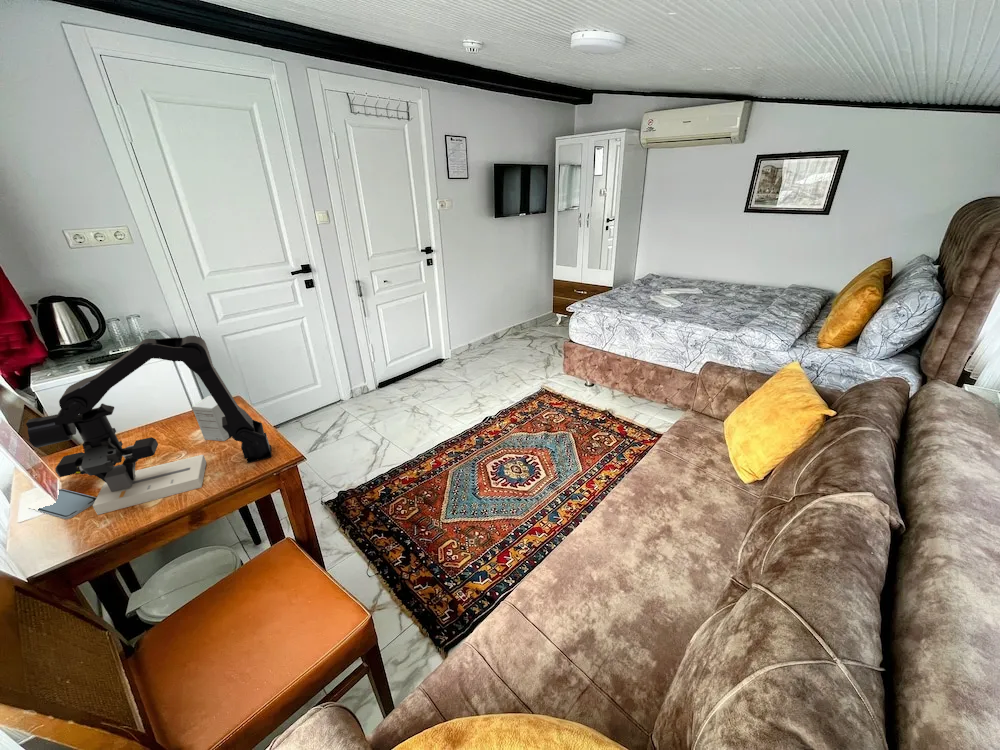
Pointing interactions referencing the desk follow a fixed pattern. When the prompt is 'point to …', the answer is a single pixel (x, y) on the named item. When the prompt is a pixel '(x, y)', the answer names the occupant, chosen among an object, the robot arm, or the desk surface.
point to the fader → (118, 478)
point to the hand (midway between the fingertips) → (122, 481)
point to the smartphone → (68, 504)
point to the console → (154, 484)
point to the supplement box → (210, 419)
